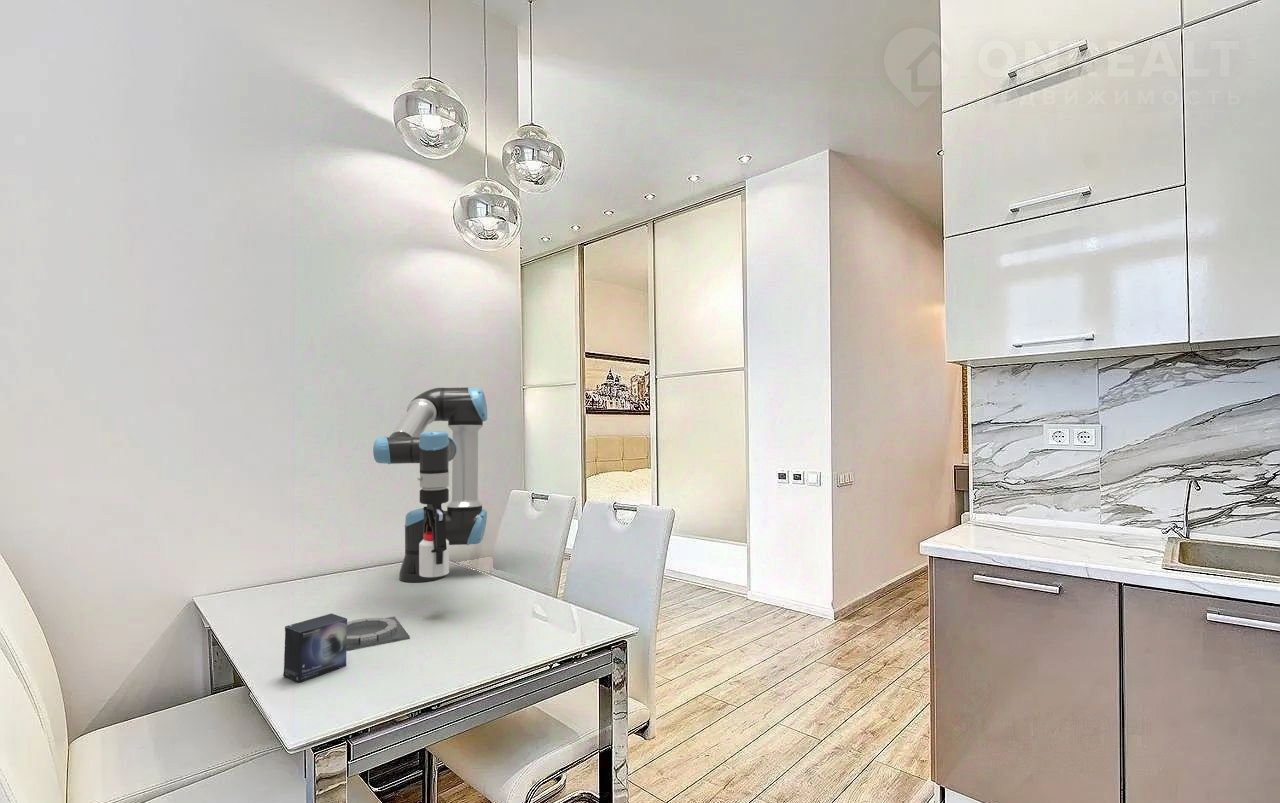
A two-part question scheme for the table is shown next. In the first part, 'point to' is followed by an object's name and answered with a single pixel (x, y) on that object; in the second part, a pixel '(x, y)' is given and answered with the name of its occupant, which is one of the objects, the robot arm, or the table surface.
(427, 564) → the pill bottle
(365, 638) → the ring seat
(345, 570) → the table surface
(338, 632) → the small box
